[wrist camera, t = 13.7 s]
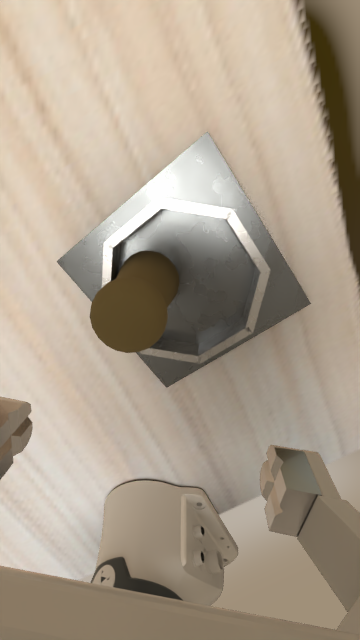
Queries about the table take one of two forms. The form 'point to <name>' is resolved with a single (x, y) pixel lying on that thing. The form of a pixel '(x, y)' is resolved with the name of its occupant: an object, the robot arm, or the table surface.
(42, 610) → the robot arm
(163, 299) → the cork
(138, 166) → the table surface
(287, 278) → the duct collar
